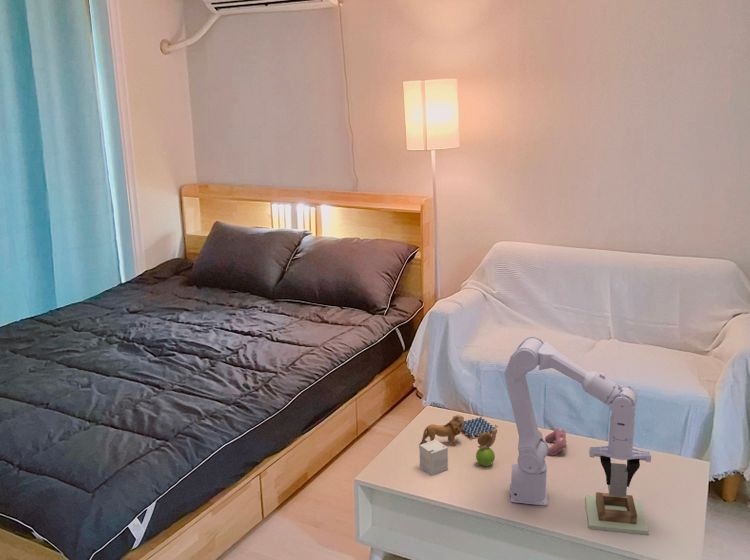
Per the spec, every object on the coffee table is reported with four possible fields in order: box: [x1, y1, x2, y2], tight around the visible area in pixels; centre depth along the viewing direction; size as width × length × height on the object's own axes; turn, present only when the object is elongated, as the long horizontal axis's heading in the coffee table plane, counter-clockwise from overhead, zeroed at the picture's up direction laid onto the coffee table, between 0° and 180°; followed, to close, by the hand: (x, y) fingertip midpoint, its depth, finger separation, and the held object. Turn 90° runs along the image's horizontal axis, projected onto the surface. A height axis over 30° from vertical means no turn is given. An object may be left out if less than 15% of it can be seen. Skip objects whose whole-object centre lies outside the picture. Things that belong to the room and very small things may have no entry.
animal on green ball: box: [475, 424, 498, 467], centre depth 205 cm, size 5×6×12 cm
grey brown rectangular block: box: [607, 462, 628, 497], centre depth 178 cm, size 4×4×7 cm
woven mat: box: [460, 416, 495, 441], centre depth 228 cm, size 10×11×2 cm
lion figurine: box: [418, 414, 465, 447], centre depth 218 cm, size 15×5×9 cm, turn 103°
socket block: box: [584, 491, 649, 536], centre depth 180 cm, size 14×14×4 cm
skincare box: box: [419, 439, 449, 476], centre depth 204 cm, size 6×6×7 cm
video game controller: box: [544, 428, 567, 456], centre depth 214 cm, size 10×5×7 cm, turn 169°
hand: (617, 483), depth 178 cm, fingers closed on grey brown rectangular block, 4 cm apart
